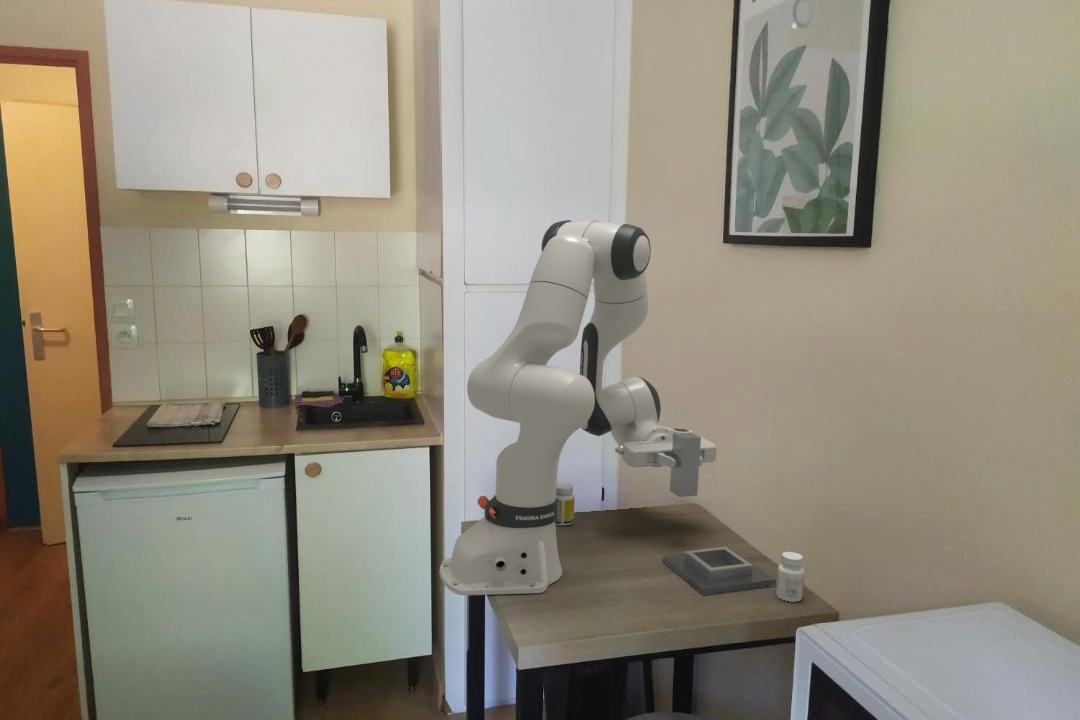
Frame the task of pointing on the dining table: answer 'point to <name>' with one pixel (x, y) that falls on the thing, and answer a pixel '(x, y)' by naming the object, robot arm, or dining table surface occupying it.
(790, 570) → the pill bottle
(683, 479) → the steel bar
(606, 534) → the dining table surface
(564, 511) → the supplement bottle
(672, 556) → the block
